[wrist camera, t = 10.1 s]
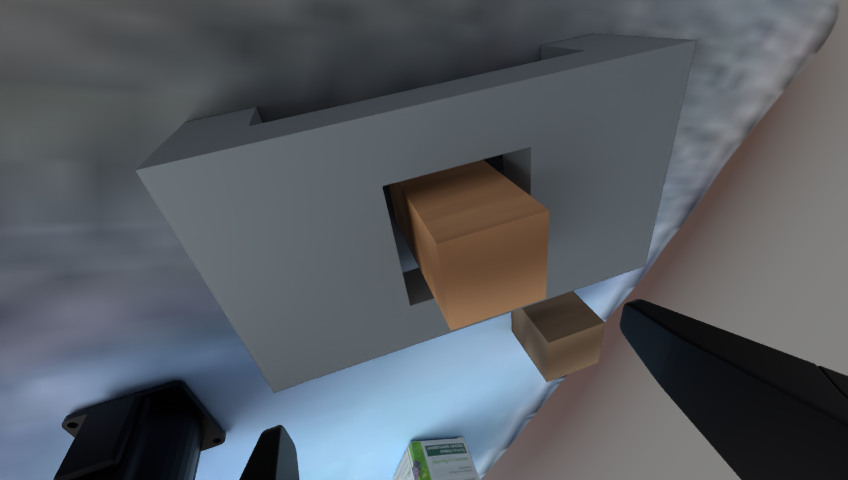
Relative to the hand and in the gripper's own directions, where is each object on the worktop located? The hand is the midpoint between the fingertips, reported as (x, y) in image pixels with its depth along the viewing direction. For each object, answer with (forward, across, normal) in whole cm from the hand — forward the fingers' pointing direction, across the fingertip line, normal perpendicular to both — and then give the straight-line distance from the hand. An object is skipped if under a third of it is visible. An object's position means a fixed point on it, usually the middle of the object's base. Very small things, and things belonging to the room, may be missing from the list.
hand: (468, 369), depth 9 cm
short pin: (+13, -10, +13) cm, 21 cm away
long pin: (+13, -3, +1) cm, 13 cm away
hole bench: (+13, -3, +1) cm, 13 cm away
